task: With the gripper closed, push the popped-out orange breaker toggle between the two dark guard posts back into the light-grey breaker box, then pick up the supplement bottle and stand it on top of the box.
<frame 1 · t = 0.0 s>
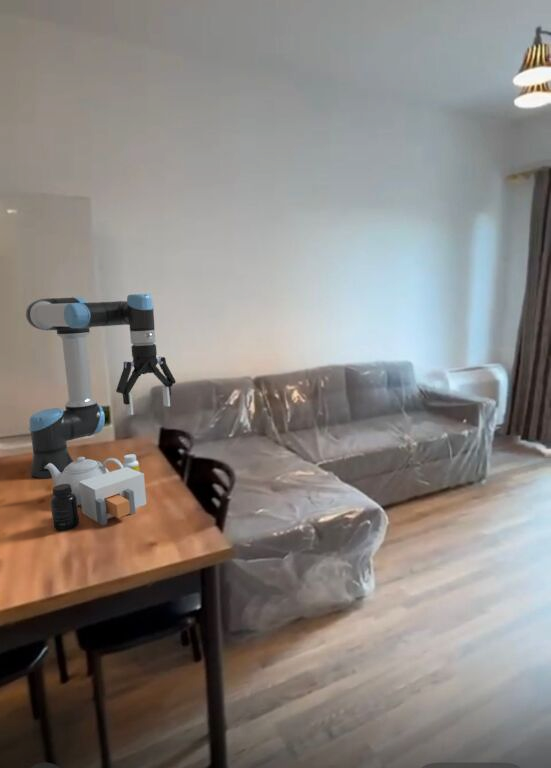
hand: (149, 410, 156), 28 cm above the table, tool pointing down, fingers open, 13 cm apart
breaker toggle: (116, 505, 142), point 4 cm above the table, slide at 0.0 cm
teapot: (87, 497, 159), on the table
supplement bottle 2: (132, 483, 170), on the table
breaker box: (114, 508, 149), on the table
supplement bottle: (66, 526, 139), on the table
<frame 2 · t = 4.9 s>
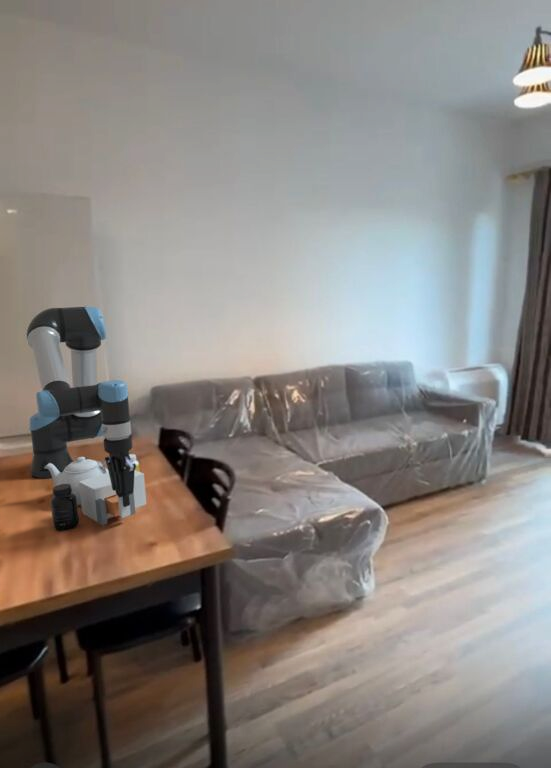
hand: (125, 515, 139), 2 cm above the table, tool pointing down, fingers closed
breaker toggle: (114, 504, 142), point 4 cm above the table, slide at 1.4 cm, touching gripper
everything else where it was.
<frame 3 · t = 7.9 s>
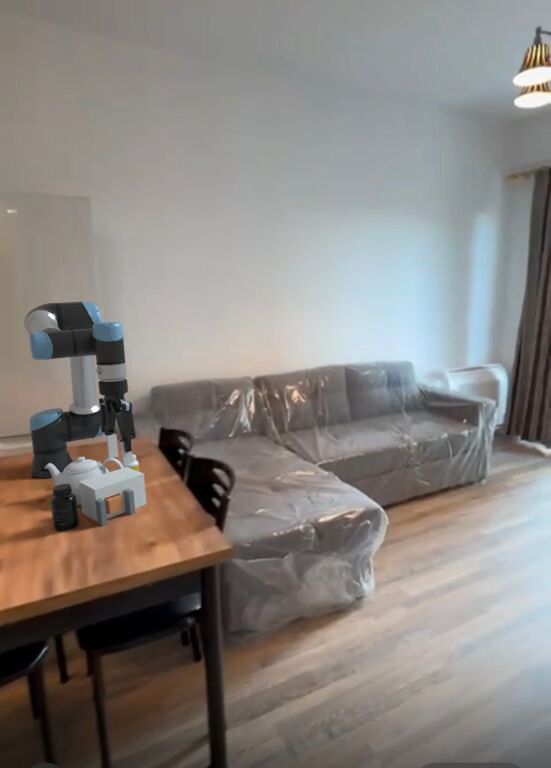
hand: (120, 459, 136), 19 cm above the table, tool pointing down, fingers open, 7 cm apart
breaker toggle: (109, 502, 144), point 4 cm above the table, slide at 4.2 cm
everything else where it was.
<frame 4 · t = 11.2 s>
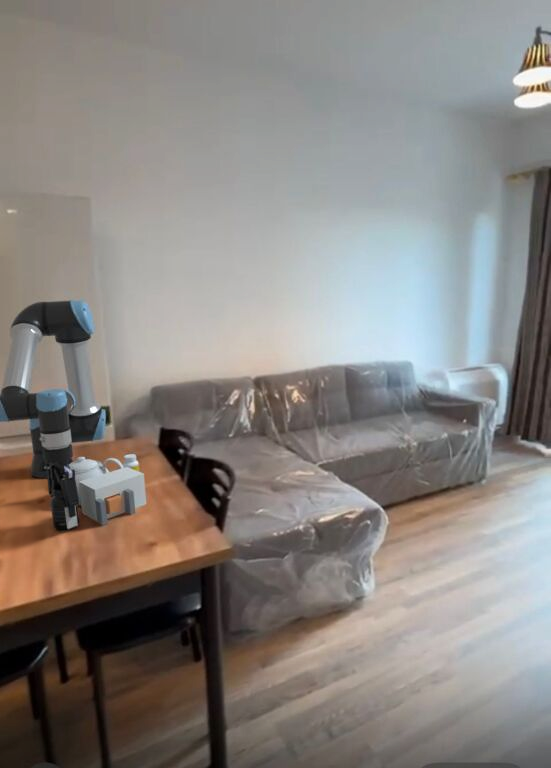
hand: (66, 522, 138), 1 cm above the table, tool pointing down, fingers closed on supplement bottle, 7 cm apart
supplement bottle: (66, 526, 139), on the table, touching gripper
everything else where it was.
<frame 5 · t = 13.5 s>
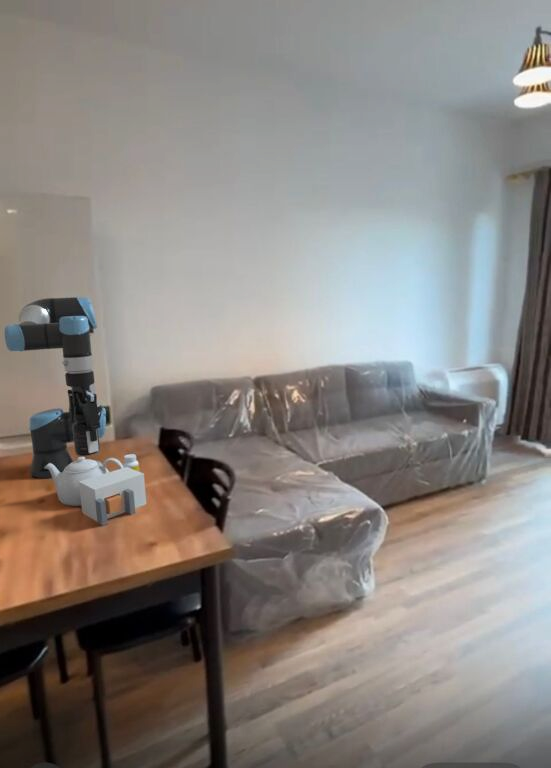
hand: (87, 449, 141), 21 cm above the table, tool pointing down, fingers closed on supplement bottle, 7 cm apart
supplement bottle: (88, 453, 141), point 19 cm above the table, touching gripper
everything else where it was.
when the fingers open (12 cm above the table, at t = 16.0 s): supplement bottle drops 1 cm, resting on breaker box.
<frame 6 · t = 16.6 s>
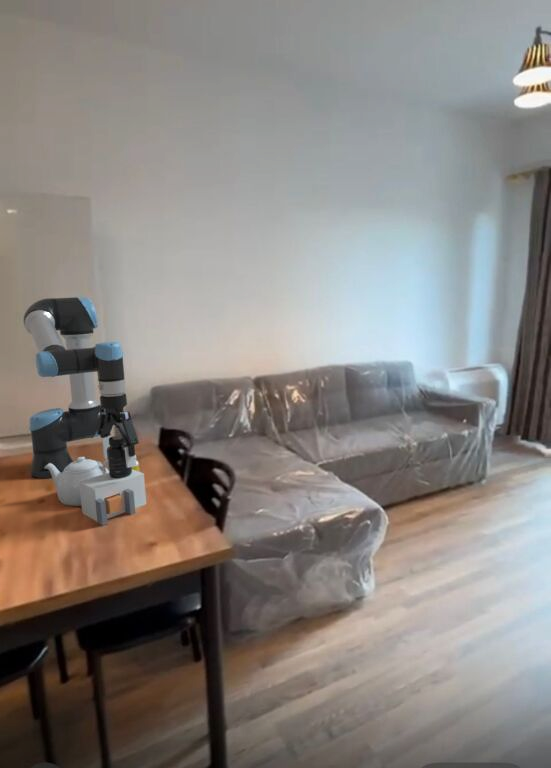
hand: (119, 461, 149), 14 cm above the table, tool pointing down, fingers open, 13 cm apart
supplement bottle: (120, 475, 150), point 10 cm above the table, touching breaker box
everything else where it was.
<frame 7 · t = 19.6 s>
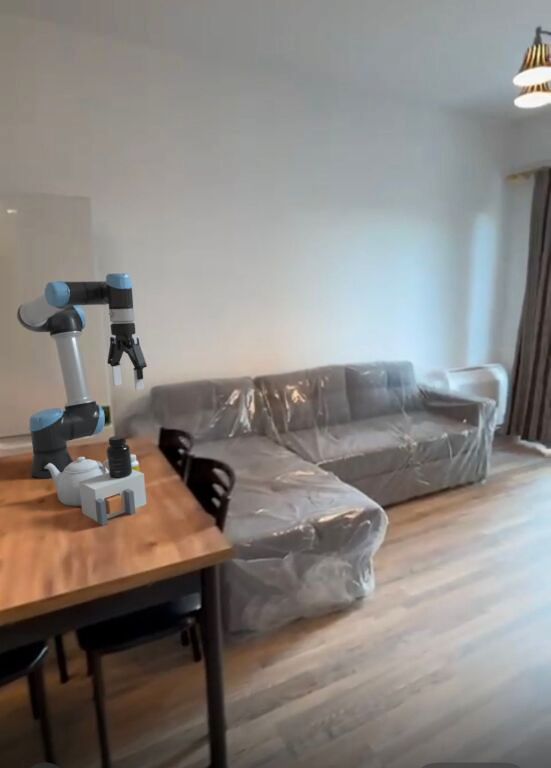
hand: (128, 387, 160), 35 cm above the table, tool pointing down, fingers open, 13 cm apart
nothing on the table moved.
at the end: breaker toggle slide at 4.2 cm; supplement bottle inside the target area (2.0 cm from its centre), point 9.8 cm above the table; supplement bottle tilted 0° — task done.
